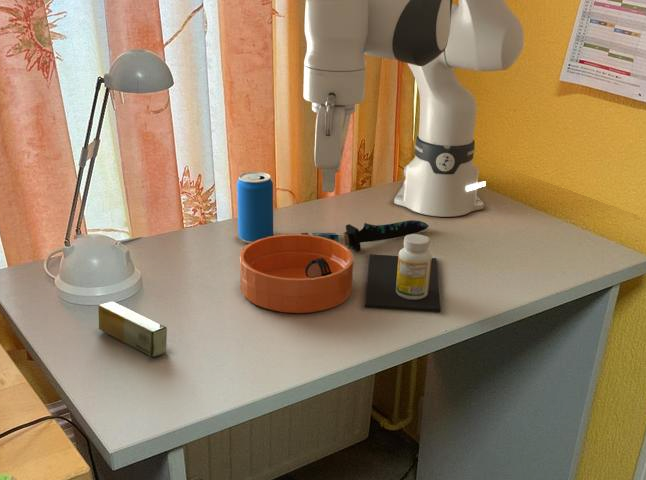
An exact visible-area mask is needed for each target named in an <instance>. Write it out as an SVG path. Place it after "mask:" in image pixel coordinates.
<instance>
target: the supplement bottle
mask: <svg viewBox="0 0 646 480" xmlns="http://www.w3.org/2000/svg"><path fill="white" fill-rule="evenodd" d="M429 248H430V238H429V237H428V236H426V235H423V234H420V233H414V234H410V235H406V236H404V238H403V248H401V249H400V250H399V252H398V255H397V256H398V268H397V281H396V293H397V294H398V295H399V296H400V297H402V298H405V299H409V300H419V299H422V298H424V297H426V296H427V294H428V288H429V279H430V270H431V262H432V258H433V256H432V255H433V254H432V252H431V251H430V250H429Z"/></svg>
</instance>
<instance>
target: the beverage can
mask: <svg viewBox="0 0 646 480" xmlns="http://www.w3.org/2000/svg"><path fill="white" fill-rule="evenodd" d="M236 199H237V200H236V201H237V232H238V238H239V239H240V240H242V241H243V242H244V243H246V244H250V243H252V242H254V241H256V240H259V239H262V238H266V237H270V236H274V183H273V181H272V179H271V175H270V173H269V174H268V173H267V172H262V171H246V172H243V173H241V174H240V175H238V179H237V182H236Z"/></svg>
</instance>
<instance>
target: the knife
mask: <svg viewBox="0 0 646 480" xmlns="http://www.w3.org/2000/svg"><path fill="white" fill-rule="evenodd" d="M428 228H429V224H427V223H426V222H424V221H421V220H415V219H414V220H412V219H411V220H404V221H398V222H394V223H388V224H378V225H377V224H376V225H375V224H370V223H366V222H364V224H363V227H362V228H361V229H360V230H359V229H358V228H357V227H355V226H353V225H352V224H350V223H348V224H346V225H345V232H302V233H300V234H303V235H313V236H319V237H324V238H328V239H331V240H334V241H337V242H339V243H341V244H343V245H345V246H346V247H349V249H352V250H354V251H356V252H357V253H358V252H361V250H362V248H361V247H362V246H361V244H362V243H372V242H379V241H385V240H393V239H398V238H402V237H405V236H407V235H410V234H418V233H420V232H423V231H424V230H426V229H428Z"/></svg>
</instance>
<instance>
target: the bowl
mask: <svg viewBox="0 0 646 480" xmlns="http://www.w3.org/2000/svg"><path fill="white" fill-rule="evenodd" d="M319 258H323V259H325V260H326V262H327V263H328V265H329V267H330V271H331V272H332V274H329V275H326V276H322V277H316V278H309V277H308V276H306V273H305V269H306V267H307V265H308V264H309V263H310V262H311V261H312V260H314V259H319ZM354 259H355V258H354V254H353V253H352V251H351V249H350V248H348V246H345V245H343V244H341V243H339V242H337V241H334V240H331V239H328V238H324V237H319V236H313V235H303V234H301V233H290V234H288V233H287V234H278V235H273V236H270V237H266V238H262V239H259V240H256V241H254V242H252V243H250V244H249V243H247V245H246V246H244V247H243V248H242V249H241V251H240V254H239V272H240V273H239V274H240V277H239V278H240V290H241V294H242V295H243V296H244V297H245V298H246V300H247V301H249V302H251V303H252V304H254V305H256V306H258V307H260V308H263V309H267V310H271V311H276V312H281V313H289V314H306V313H314V312H315V313H316V312H321V311H325V310H326V311H327V310H329V309H331V308H335V307H337V306H340V305H341V304H342V303H344V302H346V301H347V300H348V299H349V298H350V297H351V295H352V292H353V281H354V280H353V278H354V277H353V276H354ZM326 266H327V265H326ZM326 268H328V267H326ZM326 270H328V269H326ZM327 272H329V271H327ZM324 273H325V272H324Z"/></svg>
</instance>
